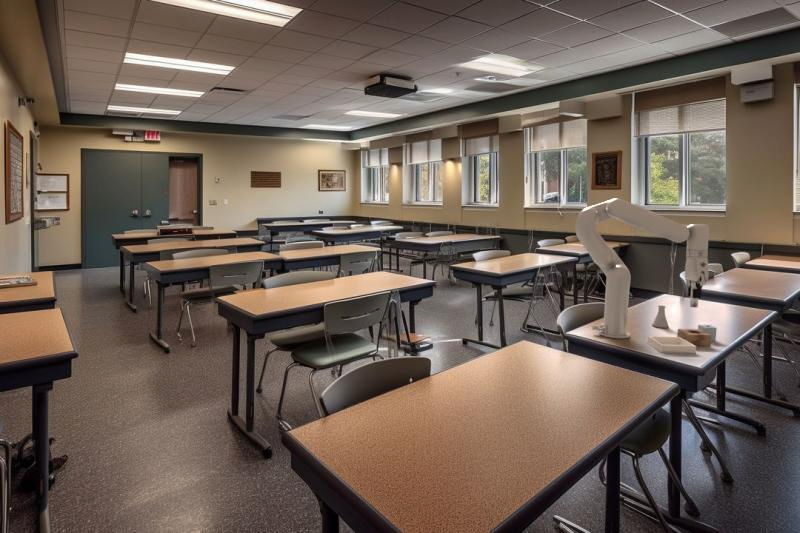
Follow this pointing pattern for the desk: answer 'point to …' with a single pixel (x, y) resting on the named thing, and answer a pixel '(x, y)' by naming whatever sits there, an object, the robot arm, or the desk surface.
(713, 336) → the block
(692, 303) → the pin gauge
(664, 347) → the tray
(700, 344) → the block
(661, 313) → the flask
